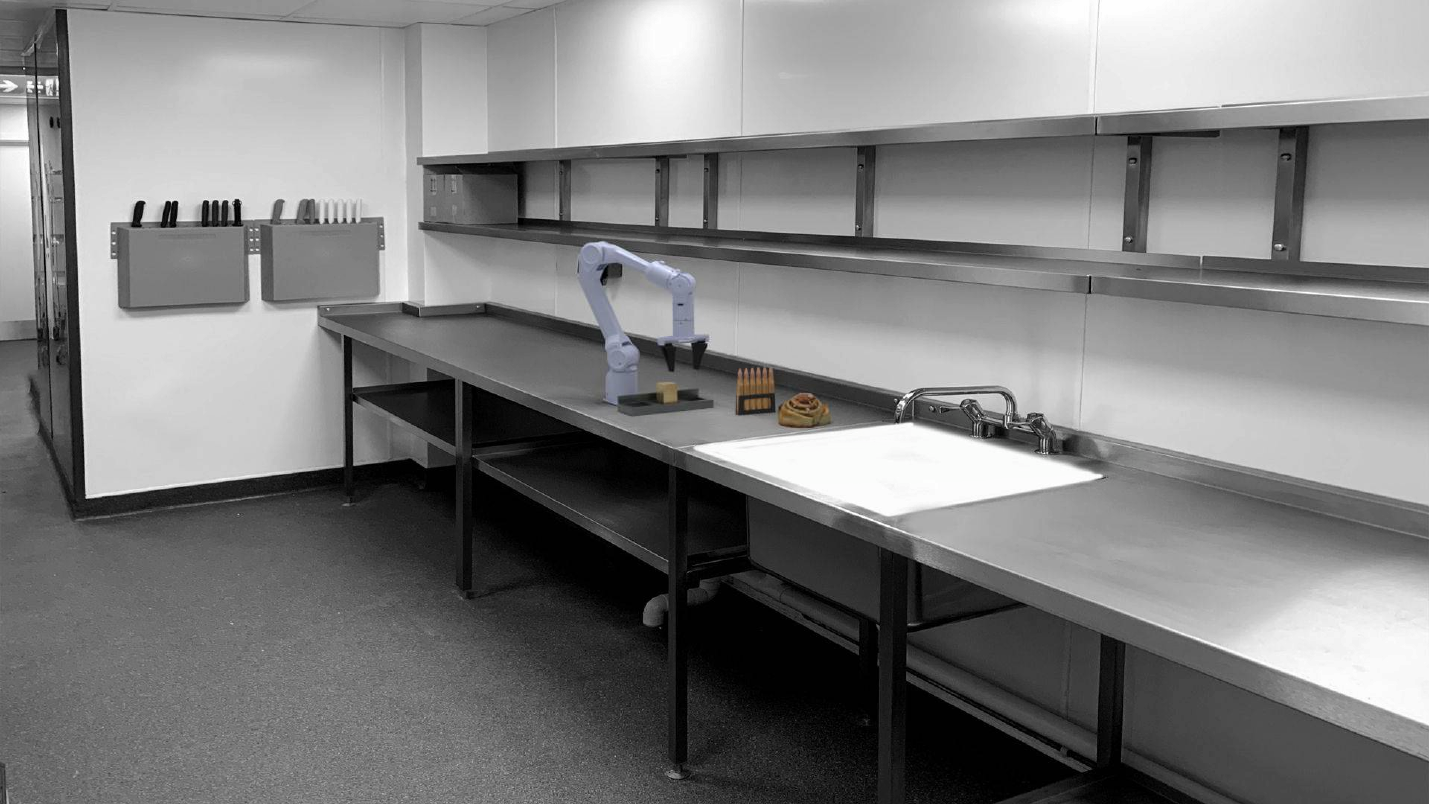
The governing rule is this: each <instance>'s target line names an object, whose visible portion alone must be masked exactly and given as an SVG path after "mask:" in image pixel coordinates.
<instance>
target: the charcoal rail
mask: <svg viewBox="0 0 1429 804" xmlns="http://www.w3.org/2000/svg"><path fill="white" fill-rule="evenodd" d="M617 398H618V405H617V411H618V412H620V413H623V414H626V415H628V416H631V417H635V416H636V417H637V416H646V415H655V414H665V413H673V412H674V413H675V412H680V411H684V412H685V411H692V410H701V409H710V408H714V407H715V406H714V404H715V403H714V399H712V398H708V397H704V396H702V395H699V387H694V388H684V389H683V388H682V389H677V403H670V404H660V403H657V394H656V391H654V392H644V393H642V392H641V393H637V394H632V395H622V396H617Z"/></svg>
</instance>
